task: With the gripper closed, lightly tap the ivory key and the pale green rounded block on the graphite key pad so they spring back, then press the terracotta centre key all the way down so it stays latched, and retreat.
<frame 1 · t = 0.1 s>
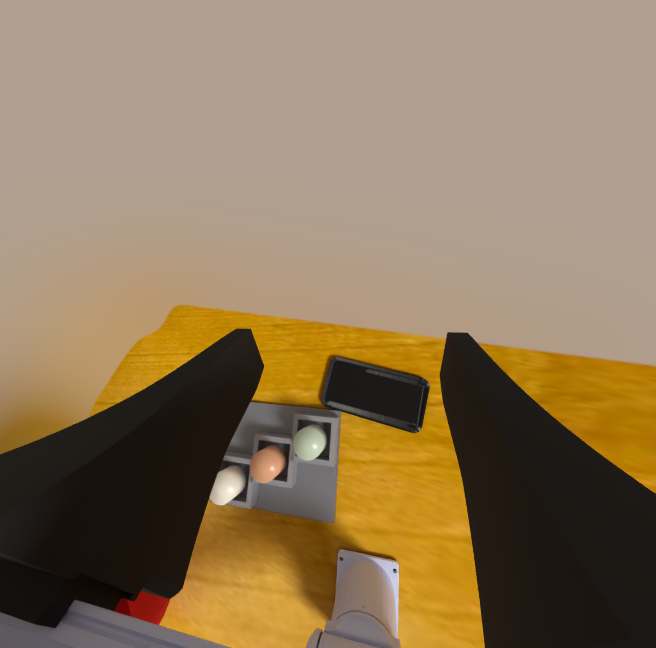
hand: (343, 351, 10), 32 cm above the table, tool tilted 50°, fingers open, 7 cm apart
phone: (373, 392, 40), on the table
pale green rounded block: (310, 441, 36), point 4 cm above the table, slide at 0.0 cm
ceramic cup: (146, 565, 41), on the table
ivory key: (227, 484, 37), point 4 cm above the table, slide at 0.0 cm
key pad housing: (279, 455, 41), on the table
terracotta key: (268, 463, 37), point 4 cm above the table, slide at 0.0 cm
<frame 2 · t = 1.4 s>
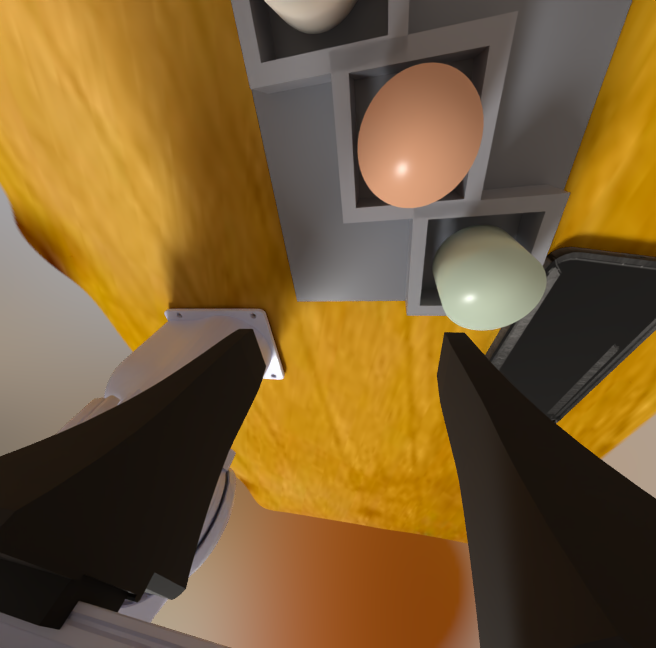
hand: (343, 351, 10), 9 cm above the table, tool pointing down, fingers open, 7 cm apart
phone: (545, 347, 20), on the table
pale green rounded block: (480, 276, 13), point 4 cm above the table, slide at 0.0 cm
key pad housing: (407, 138, 13), on the table
terracotta key: (413, 142, 10), point 4 cm above the table, slide at 0.0 cm
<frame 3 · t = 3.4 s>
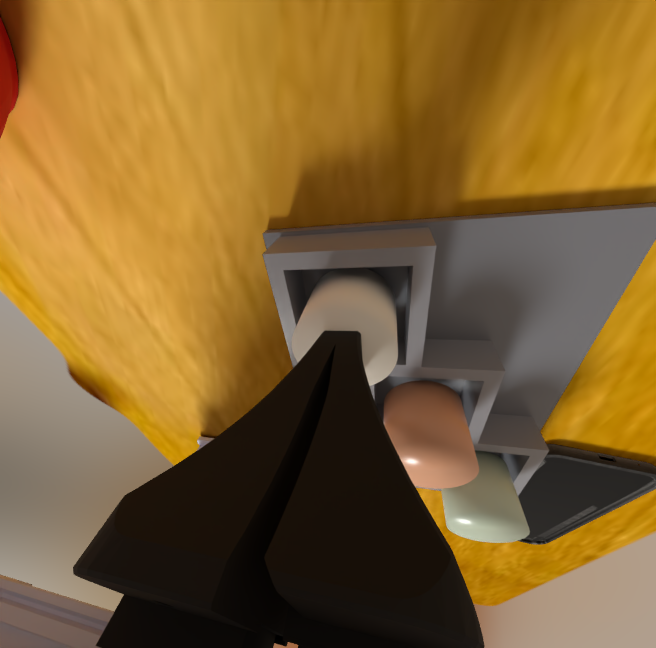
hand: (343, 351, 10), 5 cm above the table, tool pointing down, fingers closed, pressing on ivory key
phone: (535, 490, 22), on the table
pale green rounded block: (478, 495, 16), point 4 cm above the table, slide at 0.0 cm
ivory key: (348, 326, 11), point 3 cm above the table, slide at 1.0 cm, touching gripper
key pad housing: (417, 374, 16), on the table
terracotta key: (424, 433, 13), point 4 cm above the table, slide at 0.0 cm
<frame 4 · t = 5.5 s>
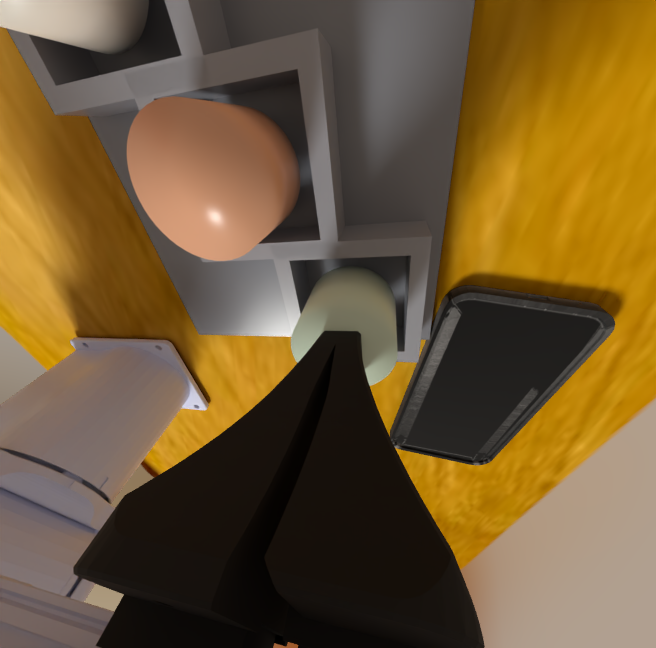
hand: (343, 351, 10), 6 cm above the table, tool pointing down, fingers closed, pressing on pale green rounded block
phone: (468, 384, 18), on the table
pale green rounded block: (347, 326, 11), point 4 cm above the table, slide at 0.1 cm, touching gripper
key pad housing: (270, 167, 12), on the table
terracotta key: (227, 182, 9), point 4 cm above the table, slide at 0.0 cm
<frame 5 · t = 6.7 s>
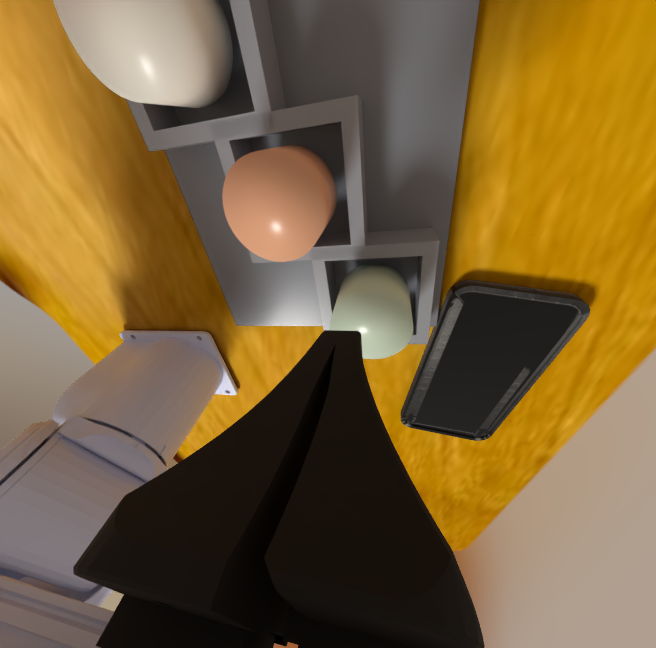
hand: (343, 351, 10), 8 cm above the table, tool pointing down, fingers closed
phone: (470, 367, 21), on the table
pale green rounded block: (372, 310, 14), point 4 cm above the table, slide at 0.3 cm
ivory key: (155, 30, 9), point 4 cm above the table, slide at 0.3 cm
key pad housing: (307, 186, 15), on the table
terracotta key: (285, 202, 11), point 4 cm above the table, slide at 0.0 cm
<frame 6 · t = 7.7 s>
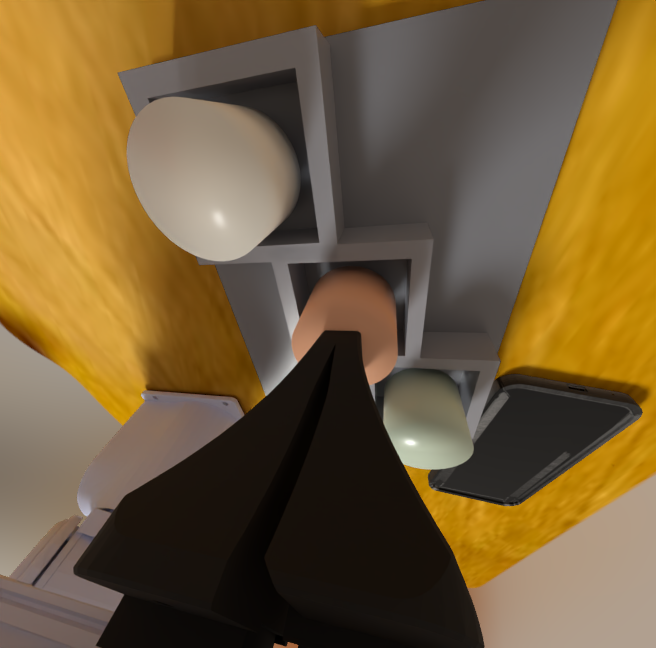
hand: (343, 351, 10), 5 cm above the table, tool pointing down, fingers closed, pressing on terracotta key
phone: (505, 441, 20), on the table
pale green rounded block: (422, 417, 14), point 4 cm above the table, slide at 0.3 cm
ivory key: (227, 182, 9), point 4 cm above the table, slide at 0.3 cm
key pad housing: (356, 286, 14), on the table
terracotta key: (348, 326, 11), point 4 cm above the table, slide at 0.4 cm, touching gripper
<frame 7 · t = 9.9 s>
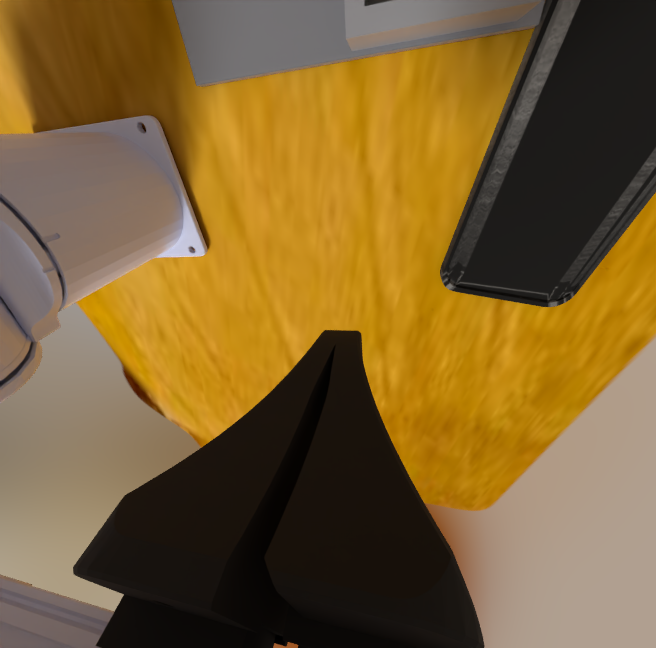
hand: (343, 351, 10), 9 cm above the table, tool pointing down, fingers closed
phone: (565, 159, 13), on the table
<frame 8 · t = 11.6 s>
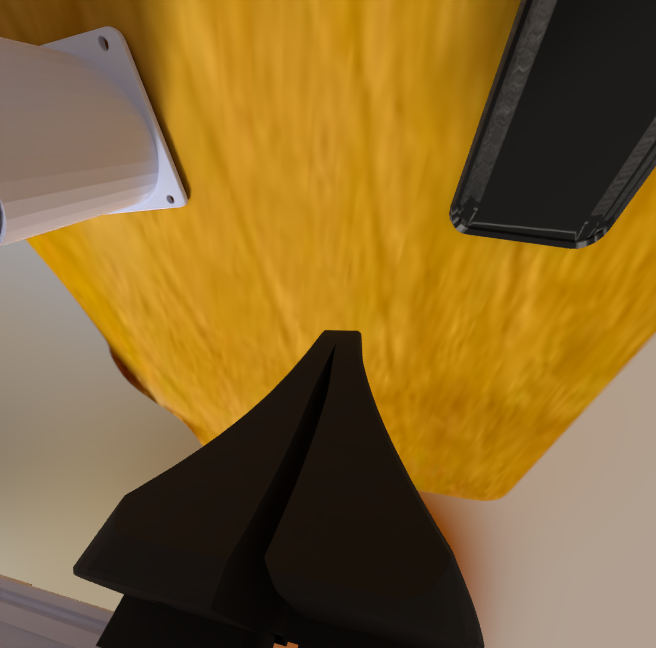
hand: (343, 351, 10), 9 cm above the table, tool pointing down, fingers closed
phone: (600, 54, 11), on the table
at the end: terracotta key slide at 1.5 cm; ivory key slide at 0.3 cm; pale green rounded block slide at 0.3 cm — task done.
